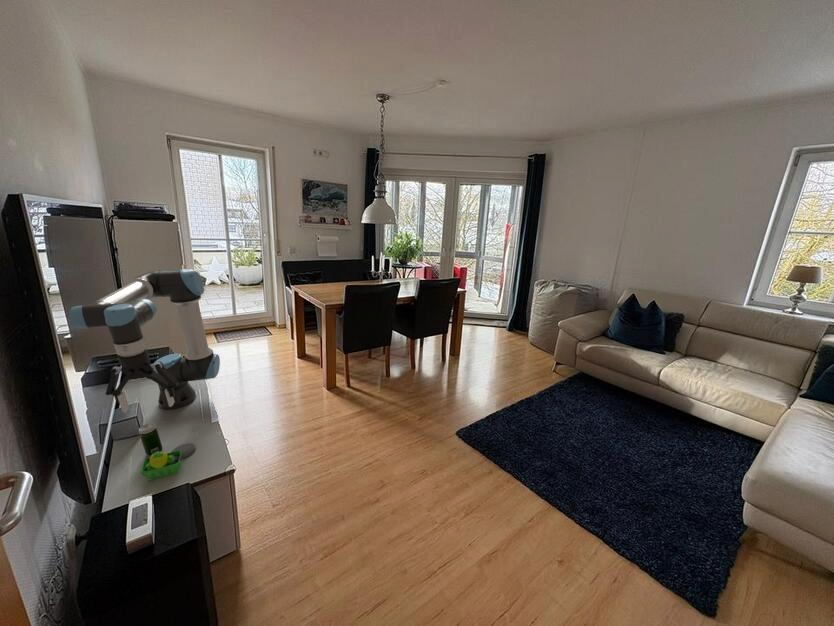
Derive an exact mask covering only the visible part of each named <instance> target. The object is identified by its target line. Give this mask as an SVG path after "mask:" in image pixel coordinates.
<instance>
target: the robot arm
mask: <svg viewBox="0 0 834 626" xmlns="http://www.w3.org/2000/svg"><path fill="white" fill-rule="evenodd" d="M204 293H205V284H204V280H203V278H202V275H200V273H199V272H198V271H197V270H195V269H186V268H182V269H179V268H178V269H163V270H152V271H148V272H144V273H142V274H140V275H137V276H135V277H133V278H131V279H130V280H128V281H126V284H125V285H124V286H122V287H121V288H118V289H116V290H115V291H113V292H111V293H109V294H107V295H105V296H103V297H101V298H99V299H98V300H96V301H94V302H92V303H90V304H85V305H84V304H81V305H75V306H73V307H71V308H70V309H71V310H70V309H69V310H70V319H71V323H72V325H71V326H72V328H74V329H87V330H88V329H94V328H107V329H108V332H109V334H110V337H111V340H112V344H113V346H114V350H115V352H116V355H117V360H118V362H119V365H114V366H113V367H112V368H111V369H110V370H109V371H110V378H109V381H108V384H107V388H106V391H105V395H106V396H110V395H111V396H113V397H114V399H115V402H116V404H119V405H120V408H121V412H122V413H123V414H125V413H127V411H128V410H129V409H130V404H129V401H128V399H127V396H126V393H125V391H123V389H124V388H125V386H126V385H127V383H128V382H129V381H130V379H133V380H137V379H145V378H146V379H148V380H152V381H153V382H155V383H156V384H157V386H158V389H159V393H158V394H159V395H158V401H157V404H158V406H159V408H161V409H162V410H175V409H179V408H183V407H184V406H187V405H188V404H190V403H191V402H193V401H195V399H196V397H197V394H196V390H195V389H194V388H193V386H192V385H191V384H190V383H189V382H195V381H207V380H211V379H215V378H217V376H218V374H219V372H220V366H221V362H220V361H221V359H220V355H219V354H217V353H215V354H214V350H213V349H212V348H210V347H209V343H208V339H207V335H206V329H205V326H204V322H203V318H202V317H203V315H202V313H201V309H200V304H199V301H200V300H201V299H202V295H203V294H204ZM151 298H152V299H153V298H154V299H155V298H169V301H170V303H172V304H173V305H175V308H176V310H177V314H178V319H179V323H180V326H181V327H180V328H181V330H182V336H183V339H184V344H185V347H186V351H187V352H186V354H185V355H184V357H183V355H182V354H181V353H171V354H168V355H167V354H166V355H165V356H162V357H160V358H158V359H157V360H156V361H154V363H151V360H150V356H149V352H148V350H147V346H146V343H145V340H144V335H143V333H142V332H143V331H142V329H141V328H142V327H143V326H144V325H145V324H146V323H148V322H150V321H151V320H152V319H153V318H154V316H156V314H157V311H158V310H157V309H158V308H157V306H156V304H155V302H153V301H152V300H150V299H151ZM120 373H123V374H125V376H124V377H123V379H122V381H121V382H120V384H118V386H117V388H116V385H117V381H118V378H119V375H120ZM115 388H116V389H115Z"/></svg>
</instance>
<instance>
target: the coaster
mask: <svg viewBox="0 0 834 626" xmlns="http://www.w3.org/2000/svg"><path fill="white" fill-rule="evenodd" d="M179 450H180V451H181V457H180V461H182V460H184V459H187V458H188V457H191V456H192V455H193V454H194V453H195V450H196V447H195V444H193V443H191V442H190V443H189V442H188V443H183V444H182V443H181V444H180V445H178V446H176V447H174V448H173V449H172V450H171V452H175V451H179Z"/></svg>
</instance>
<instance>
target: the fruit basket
mask: <svg viewBox="0 0 834 626" xmlns="http://www.w3.org/2000/svg"><path fill="white" fill-rule="evenodd" d="M180 457H181V451H180V450H179V451H175V452H172V451H171V452H166V451H161V452H155V453H154V454H152V455H151V456H148V457H146V458H145V459H144V461H143V464H142V467H141V469H140V471H139V472H140V474H142V475H143V476H144V477H146V479H147V480H148V481H150V480H154V479H158V478H163V477H166V476H170V475H174V474H178V473H179V469H180V465H181V460H180Z"/></svg>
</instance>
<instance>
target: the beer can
mask: <svg viewBox="0 0 834 626" xmlns="http://www.w3.org/2000/svg"><path fill="white" fill-rule="evenodd" d="M138 434H139V438H140V440H141V443H142V446H143V450H144V452H145V454H146V456H147V457H151V455H152V454H154V453H155V452H163V451H162V450H163V445H162V442H161V438H160V435H159V432H158V429H157V426H156V425H155V423H151V422H149V423H146V424H145V423H144V424H143V425H141V426H140V427H139V428H138Z"/></svg>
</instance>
